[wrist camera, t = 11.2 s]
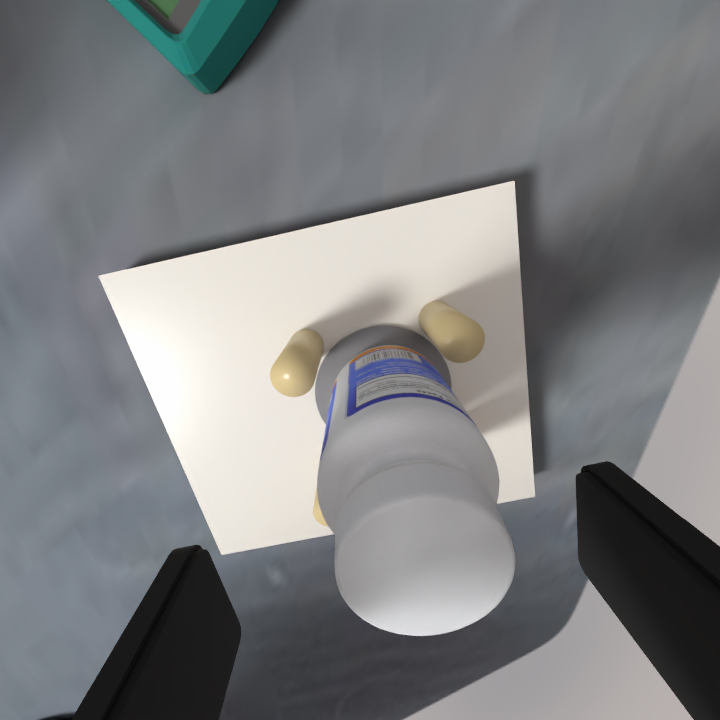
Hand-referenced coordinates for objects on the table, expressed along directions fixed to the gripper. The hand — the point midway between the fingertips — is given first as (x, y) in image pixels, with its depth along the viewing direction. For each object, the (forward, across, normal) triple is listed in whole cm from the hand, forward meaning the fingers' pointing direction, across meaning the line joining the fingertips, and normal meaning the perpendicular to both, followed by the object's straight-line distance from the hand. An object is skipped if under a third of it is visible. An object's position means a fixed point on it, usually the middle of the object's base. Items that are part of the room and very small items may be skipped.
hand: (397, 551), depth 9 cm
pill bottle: (+9, -1, 0) cm, 9 cm away
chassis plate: (+10, +1, -1) cm, 10 cm away
